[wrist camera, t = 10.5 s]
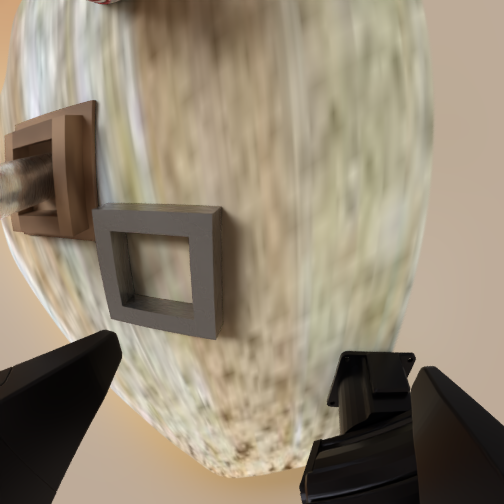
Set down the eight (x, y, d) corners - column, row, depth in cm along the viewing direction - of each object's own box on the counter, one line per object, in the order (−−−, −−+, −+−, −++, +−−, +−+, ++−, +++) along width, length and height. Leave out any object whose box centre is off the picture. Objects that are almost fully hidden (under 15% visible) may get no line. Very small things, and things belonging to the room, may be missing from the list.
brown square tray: (102, 239, 21) (84, 250, 19) (26, 232, 23) (10, 240, 20) (95, 100, 17) (74, 98, 15) (18, 125, 19) (0, 126, 16)
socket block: (223, 324, 22) (215, 339, 20) (123, 306, 23) (111, 318, 21) (221, 206, 18) (212, 214, 17) (107, 203, 20) (91, 209, 18)
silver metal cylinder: (65, 198, 20) (-43, 245, 10) (38, 199, 20) (-58, 241, 10) (61, 150, 18) (-53, 178, 8) (34, 156, 19) (-67, 184, 9)
